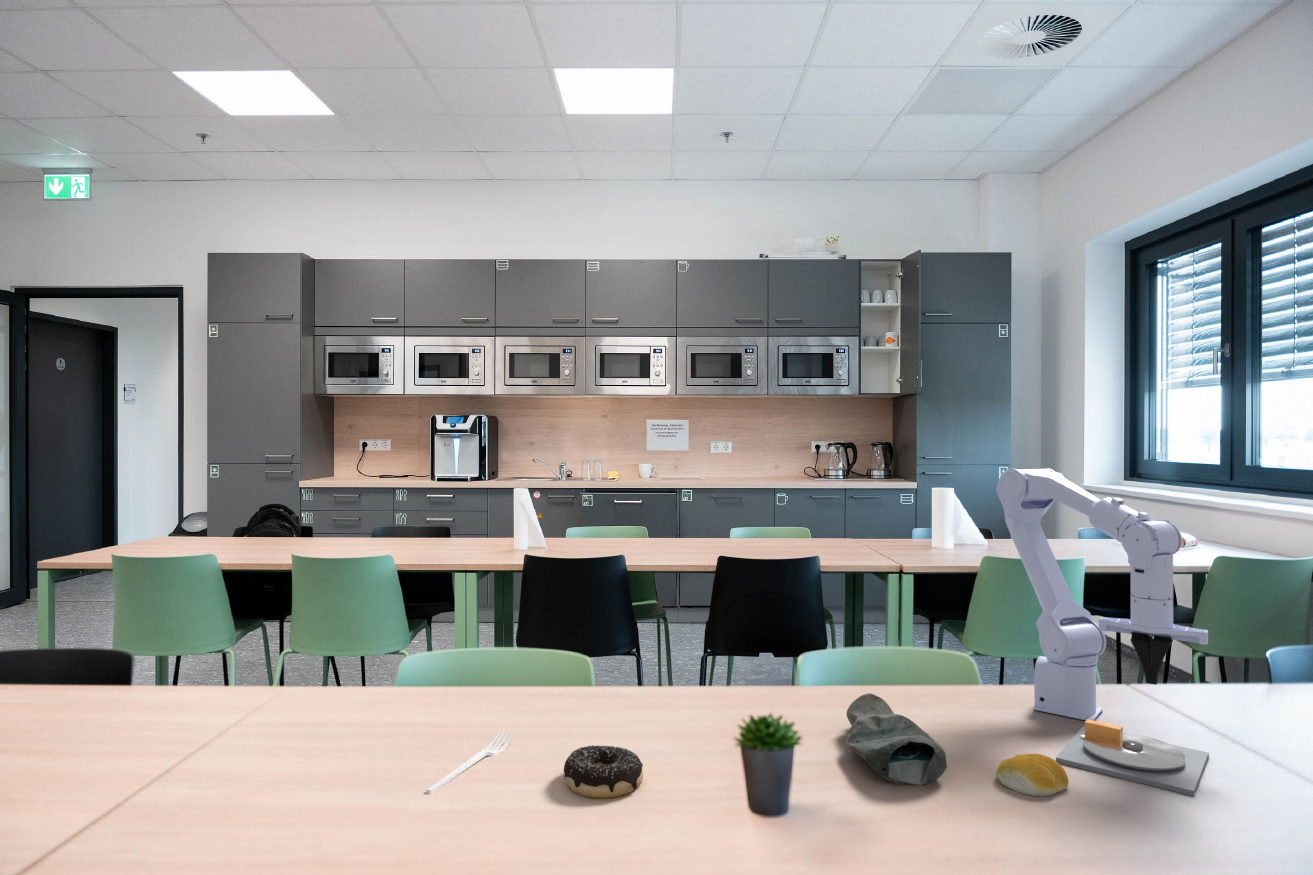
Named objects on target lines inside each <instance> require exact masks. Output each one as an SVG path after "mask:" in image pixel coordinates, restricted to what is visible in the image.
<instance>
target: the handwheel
mask: <svg viewBox="0 0 1313 875" xmlns="http://www.w3.org/2000/svg"><path fill="white" fill-rule="evenodd" d="M1084 726H1085V737H1084V739H1083V745H1084V748H1085V749H1086V750H1087V751H1088V752H1089V753H1090V754H1092V755H1093V756H1095V757H1097V758H1099V759H1102V760H1104V761H1107V762H1110V763H1113V764H1116V765H1120V766H1123V767H1128V768H1133V769H1139V770H1147V771H1173V770H1177V769H1180V768H1182V767H1183V766H1184V765H1185V755H1184V753H1183V752H1182V751H1181V750H1179V749H1178V748H1176V747H1174V746H1172V745H1173V744H1171V743H1168V742H1167V741H1166V742H1165V741H1163V740H1159V739H1157V738H1154V737H1149V736H1146V735H1142V734H1137V733H1131V732H1125V731H1124V726H1119V725H1115V724H1111V723H1106V722H1102V721H1098V720H1089V719H1087V720H1084ZM1170 744H1171V745H1170Z"/></svg>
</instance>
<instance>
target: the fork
mask: <svg viewBox="0 0 1313 875" xmlns="http://www.w3.org/2000/svg"><path fill="white" fill-rule="evenodd" d="M508 734H509V732H508V731H506V733H505V731H502V733H501V730H499V731H498V732H497V734H496V735H495V737H494V738H493V739H492V740H491V741H490V742H489V743H488V745H486V747H484V748H483V749H482V750H481V749H480V750H479V751H478V752H476V753H475V754H474V755H473V756H471V757H470V758H469V759H467V760H465V761H463V763H462V764H460V765H459V766H457V767H456V768H454V769H453V770H452V771H450V772H449V773H448V774H446V775H445V776H443V777H442V778H440V779H439V780H438V781H437V782H434V784H432V785H431V786H430V787H428V788H426V791H425V794H427V795H431V794H433V793H434V792H436V791H437V790H439V789H440V788H441V787H443V786H444V785H445V784H447V783H448V782H450V781H451V780H453V779H455V777H458V776H459V775H460V774H462V773H463V772H464V771H465V770H467V769H468V768H470V767H471V766H473V765H474V764H476V763H478V762H479V761H480V760H481V759H483V758H485V757H486V756H491V757H494V756H496V755H498V754H499V753H500V752H503V751H504V750H505V749H506V748H508V745H509V743H510V740H511V738H512V736H513V732H511V733H510V734H509V736H508ZM507 736H508V737H507Z"/></svg>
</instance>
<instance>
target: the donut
mask: <svg viewBox="0 0 1313 875" xmlns="http://www.w3.org/2000/svg"><path fill="white" fill-rule="evenodd" d="M563 773H564V774H563V775H564V776H563V777H564V781H565V783H566V784H567V786H568V788H569V789H571V790H572V791H573V792H575V793H576V794H578V795H581V796H582V797H587V798H591V799H610V798H611V799H612V798H613V799H614V798H616V797H620V796H625V795H627V794H628V795H629V794H630V793H632V792H634V791H635V790H637V789H638V788H639V787H640V786H641V785H642V783H643V779H644V770H643V763H642V761H641V759H640V758H639V756H638V754H636V753H635V752H633V751H632V750H629V749H628V748H626V747H625V748H623V747H620V746H614V745H613V746H612V745H611V746H610V745H599V744H598V745H587V746H584V747H583V746H582V747H581V746H580V747H579V748H577V749H574V751H572V752H571V753H570V754H569V756H568V757H567V759H566V761H564V766H563Z"/></svg>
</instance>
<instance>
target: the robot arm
mask: <svg viewBox="0 0 1313 875" xmlns="http://www.w3.org/2000/svg"><path fill="white" fill-rule="evenodd" d="M995 491H996V494H997V496H998V499H999V500H1000V503H1001V506H1002V508H1003V512H1004V513H1003V514H1004V521H1005V525H1006V527H1007V529H1008V531H1009V534H1010V537H1011V539H1012V541H1013V543H1014V547H1015V548H1016V551H1017V553H1018V556H1019V557H1020V560H1021V563H1022V564H1023V567H1024V569H1025V571H1026V574H1027V577H1028V579H1029V582H1030V584H1031V586H1032V588H1033V590H1034V593H1035V595H1036V597H1037V600H1038V603H1039V605H1040V607H1041V610H1042V612H1041V614H1040V615H1039V617H1038V619H1037V620H1036V621H1035V626H1036V629H1037V631H1038V636H1039V637H1038V638H1039V646H1040V648H1041V651H1042V653H1043V654H1044V655H1045V656H1044V655H1039V656H1038V657H1037V659H1036V661H1035V665H1034V673H1033V674H1034V675H1033V676H1034V677H1033V678H1034V679H1033V680H1034V686H1033V688H1034V691H1033V692H1034V702H1033V703H1034V705H1033V710H1034V711H1039V712H1042V713H1043V712H1044V713H1047V714H1048V713H1049V714H1054V715H1057V716H1062V717H1066V718H1067V717H1068V718H1073V719H1075V720H1076V719H1077V720H1083V721H1086V720H1087V719H1089V720H1094V721H1096V719H1097V717H1098V716H1099V715H1100V714H1101V713H1102V711H1103V710H1104V708H1103V707H1101V706H1098V705H1097V663H1098V662H1099V661H1100V660H1099V656H1101V655H1102V654H1103V653H1104V652H1105V650H1106V648H1107V637H1106V635H1105V632H1107V631H1108V632H1114V633H1121V634H1122V633H1123V634H1130V635H1131V638H1130V643H1131V645H1132V646H1133V648H1134V650H1135V652H1136V654H1137V656H1138V658H1139V660H1140V663H1141V664H1140V665H1141V666H1142V669H1143V674H1144V678H1145V683H1146V684H1150V685H1154V686H1155V685H1157V684H1158V683H1159V676H1160V670H1161V667H1162V664H1163V663H1164V659H1165V656H1166V655H1167V652H1168V650H1169V648H1170V647H1171V645H1172V643H1173V641H1182V642H1190V643H1197V644H1199V645H1204V646H1207V645H1208V644H1209V630H1208V629H1201V628H1195V627H1190V626H1184V625H1179V624H1174V555H1175V554H1177V552H1179V550H1180V549H1181V546H1182V542H1183V538H1182V534H1181V532H1180V530H1179V529H1178V528H1177V526H1176V525H1175V524H1173V523H1172V522H1171V521H1170V520H1168V519H1163V518H1161V519H1159V518H1158V519H1155V520H1153V519H1152V518H1151V517H1150V514H1148V513H1147V512H1144V511H1138V510H1135V509H1134V508H1132V507H1130V506H1127V505H1126V504H1124V503H1125V499H1122V498H1120V497H1103V498H1102V499H1100V498H1098V497H1096V496H1095V495H1093V494H1091V493H1090V492H1088V491H1087V490H1085V489H1083V488H1082V487H1080V486H1078V485H1077V484H1076V483H1074V482H1072V481H1070V480H1068V479H1067V478H1065V477H1064V474H1063V473H1062V472H1057V471H1055V470H1053V469H1052V468H1049V467H1041V468H1029V469H1028V468H1023V469H1020V468H1019V469H1017V468H1008V469H1006V470H1004V471H1003V472H1002V473H1001V474H1000V477H999V480H998V482H997V486H996V488H995ZM1055 501H1057V502H1058V503H1061V504H1063V505H1065V506H1067V507H1069V508H1071V509H1073V510H1075V511H1077V512H1078V513H1081V514H1083V515H1085V516H1087V517H1088V519H1089V524H1090V526H1092V527H1093V528H1094V529H1096V530H1098V531H1100V532H1102V533H1103V534H1105V535H1107V536H1108V537H1110V538H1112V539H1113V540H1116V541H1117V542H1119V543H1121V546H1122V548H1123V550H1124V551H1125V553H1126V555H1127V563H1128V564H1129V566H1130V618H1118V617H1115V618H1114V617H1105V616H1101V617H1099V618H1098V623H1096V621H1095V619H1094V618H1093V617H1092V614H1091V612H1090V611H1089V610H1087V609H1086V608H1084V607H1083V606H1081V605H1080V604H1078V603H1077V602H1076V601H1075V600H1074V598H1073V595H1072V593H1071V591H1070V588H1069V586H1068V584H1067V582H1066V579H1065V578H1064V575H1063V573H1062V570H1061V568H1060V566H1059V564H1058V562H1057V559H1056V557H1055V555H1054V553H1053V550H1052V548H1051V546H1050V544H1049V541H1048V539H1047V537H1046V535H1045V533H1044V530H1043V527H1042V526H1041V523H1040V522H1041V519H1042V517H1044V516H1045V514H1046V513H1047V512H1048V510H1049V509H1050V508H1051V506H1052V505H1053V503H1054V502H1055Z"/></svg>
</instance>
